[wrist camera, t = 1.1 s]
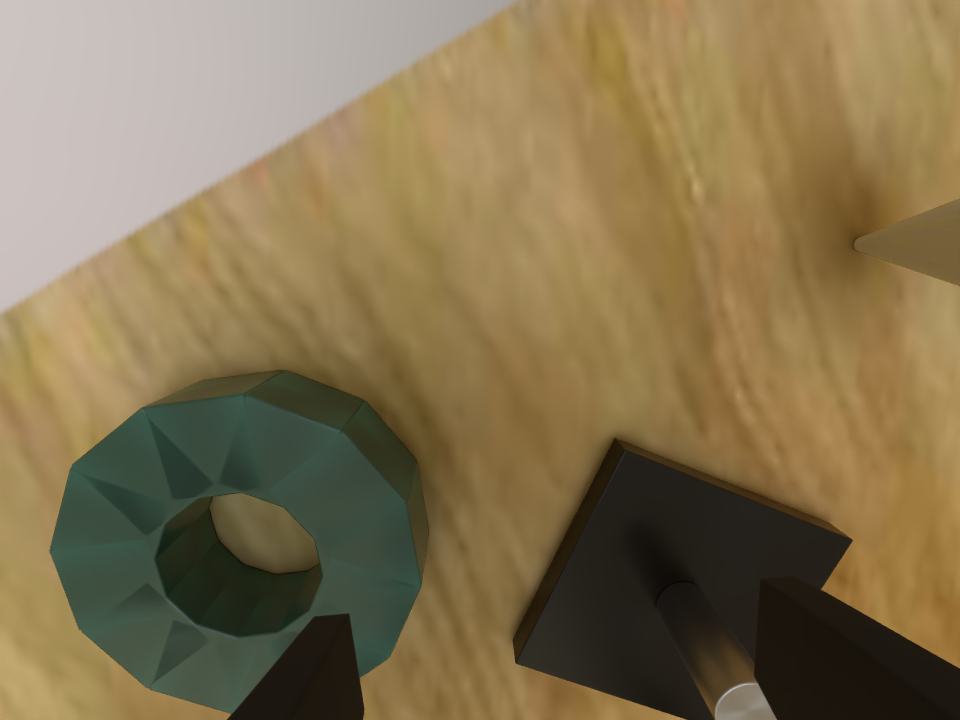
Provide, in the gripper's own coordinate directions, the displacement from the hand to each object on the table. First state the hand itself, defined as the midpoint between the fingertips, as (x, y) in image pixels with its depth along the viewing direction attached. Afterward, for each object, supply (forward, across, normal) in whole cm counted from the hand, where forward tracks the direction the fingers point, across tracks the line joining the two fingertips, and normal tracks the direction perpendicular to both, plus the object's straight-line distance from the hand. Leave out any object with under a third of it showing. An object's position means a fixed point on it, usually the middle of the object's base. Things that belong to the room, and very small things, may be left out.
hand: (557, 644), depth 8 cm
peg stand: (+10, -6, +7) cm, 14 cm away
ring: (+10, +9, +3) cm, 14 cm away
